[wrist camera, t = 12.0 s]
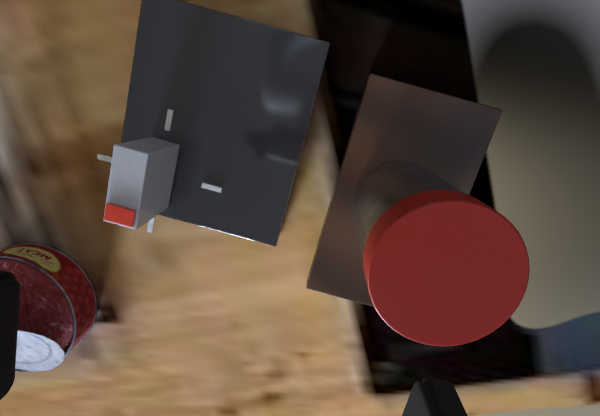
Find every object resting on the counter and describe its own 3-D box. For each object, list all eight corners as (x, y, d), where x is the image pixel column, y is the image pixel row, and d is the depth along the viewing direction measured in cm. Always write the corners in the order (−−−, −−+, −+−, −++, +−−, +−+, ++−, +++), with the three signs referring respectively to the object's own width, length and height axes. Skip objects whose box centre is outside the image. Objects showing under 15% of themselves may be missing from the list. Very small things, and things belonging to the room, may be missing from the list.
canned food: (125, 273, 38) (119, 362, 30) (45, 332, 39) (18, 434, 31) (11, 197, 31) (-36, 288, 23) (-83, 272, 32) (-160, 384, 24)
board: (368, 74, 28) (370, 72, 26) (493, 109, 28) (503, 109, 26) (306, 280, 32) (306, 288, 30) (416, 309, 32) (420, 319, 30)
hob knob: (151, 136, 27) (111, 144, 22) (180, 144, 27) (146, 154, 22) (140, 200, 28) (100, 222, 23) (168, 208, 28) (134, 231, 23)
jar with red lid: (366, 147, 27) (396, 180, 16) (459, 173, 27) (557, 225, 16) (338, 235, 29) (347, 324, 17) (426, 259, 29) (493, 363, 18)
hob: (139, -6, 27) (119, -17, 25) (330, 47, 27) (330, 42, 25) (108, 206, 31) (89, 215, 29) (275, 251, 31) (270, 265, 29)
